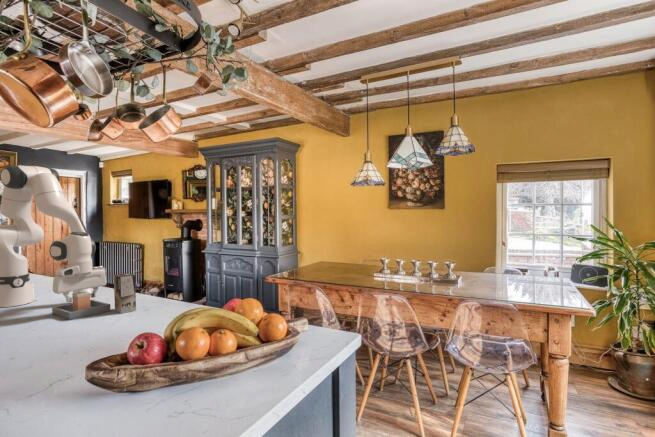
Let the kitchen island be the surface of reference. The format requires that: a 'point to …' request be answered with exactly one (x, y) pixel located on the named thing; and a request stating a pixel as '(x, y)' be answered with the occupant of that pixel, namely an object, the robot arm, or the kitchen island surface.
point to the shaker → (81, 301)
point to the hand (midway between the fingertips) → (81, 299)
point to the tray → (68, 313)
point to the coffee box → (125, 292)
